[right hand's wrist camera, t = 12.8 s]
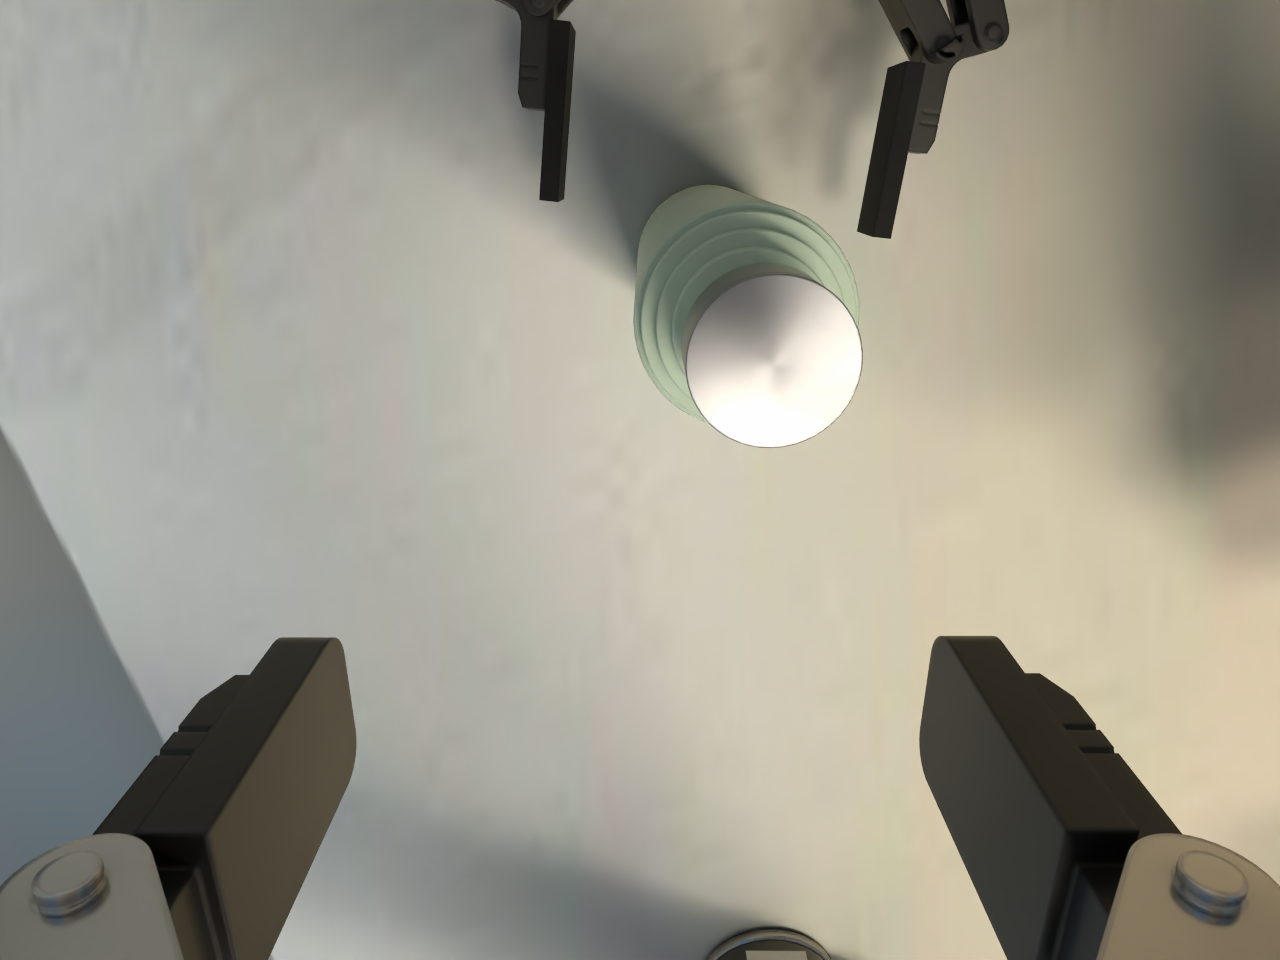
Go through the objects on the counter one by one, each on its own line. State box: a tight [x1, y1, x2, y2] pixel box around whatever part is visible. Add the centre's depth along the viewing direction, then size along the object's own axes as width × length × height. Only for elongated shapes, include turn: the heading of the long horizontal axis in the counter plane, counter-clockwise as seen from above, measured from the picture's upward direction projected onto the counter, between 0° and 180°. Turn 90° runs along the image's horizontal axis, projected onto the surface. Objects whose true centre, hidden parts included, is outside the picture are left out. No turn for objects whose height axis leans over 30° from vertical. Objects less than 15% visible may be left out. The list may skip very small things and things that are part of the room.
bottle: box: [634, 185, 859, 422], centre depth 32 cm, size 7×7×23 cm
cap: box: [682, 263, 863, 448], centre depth 22 cm, size 4×4×2 cm
